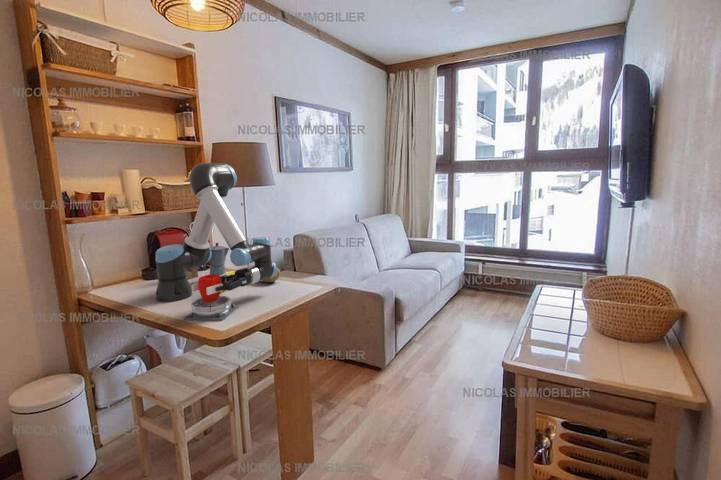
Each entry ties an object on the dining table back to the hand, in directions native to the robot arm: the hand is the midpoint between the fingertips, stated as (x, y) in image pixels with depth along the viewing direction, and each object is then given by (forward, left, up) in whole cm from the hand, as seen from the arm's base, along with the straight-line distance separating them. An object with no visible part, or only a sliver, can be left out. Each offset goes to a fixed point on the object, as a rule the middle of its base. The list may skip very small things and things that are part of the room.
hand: (199, 289), depth 143 cm
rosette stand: (+2, +4, -11) cm, 12 cm away
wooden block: (-39, +57, -11) cm, 70 cm away
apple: (+2, +4, -6) cm, 8 cm away
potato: (+9, +50, -11) cm, 52 cm away
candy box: (-7, +34, -11) cm, 37 cm away
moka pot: (-21, +55, -11) cm, 60 cm away
